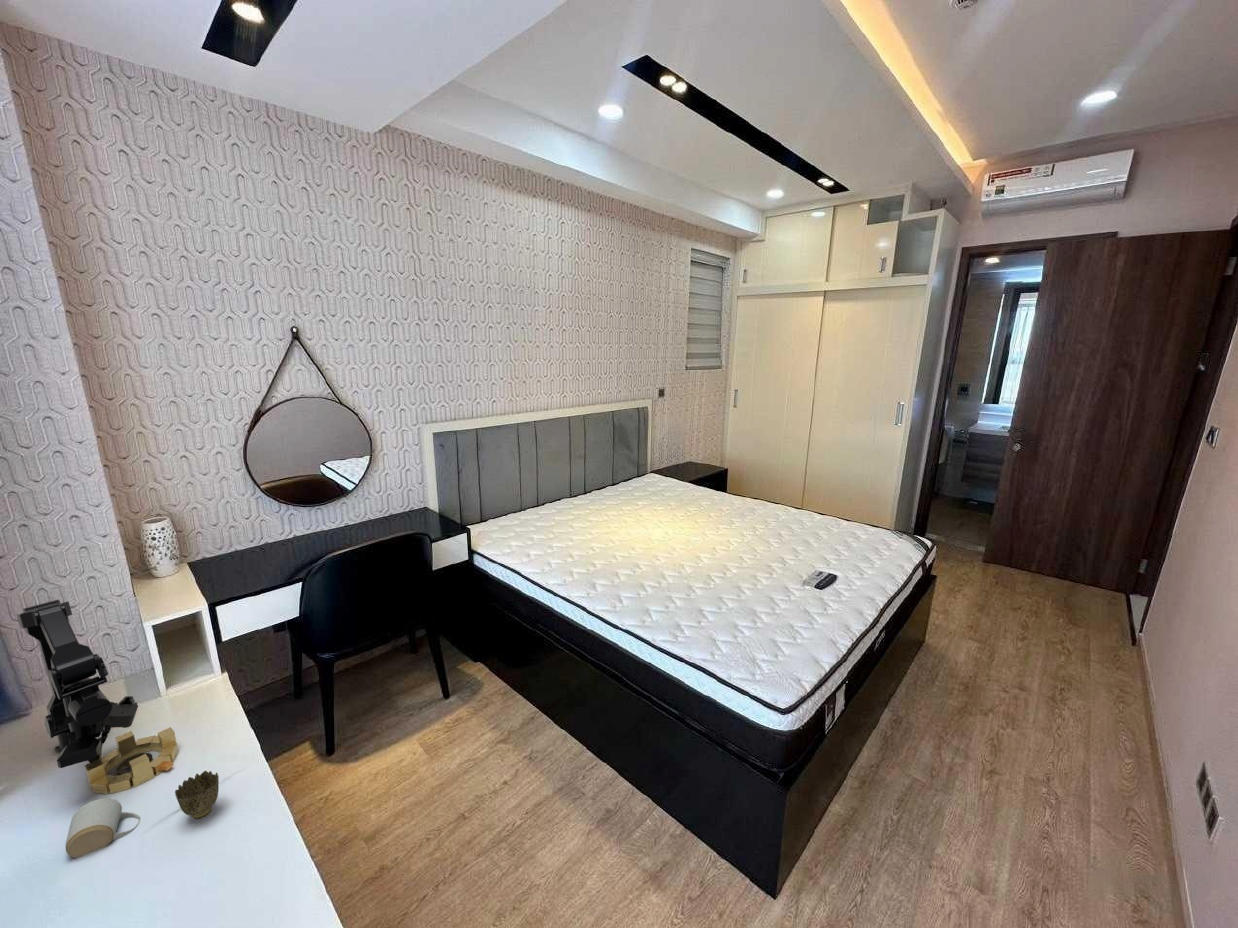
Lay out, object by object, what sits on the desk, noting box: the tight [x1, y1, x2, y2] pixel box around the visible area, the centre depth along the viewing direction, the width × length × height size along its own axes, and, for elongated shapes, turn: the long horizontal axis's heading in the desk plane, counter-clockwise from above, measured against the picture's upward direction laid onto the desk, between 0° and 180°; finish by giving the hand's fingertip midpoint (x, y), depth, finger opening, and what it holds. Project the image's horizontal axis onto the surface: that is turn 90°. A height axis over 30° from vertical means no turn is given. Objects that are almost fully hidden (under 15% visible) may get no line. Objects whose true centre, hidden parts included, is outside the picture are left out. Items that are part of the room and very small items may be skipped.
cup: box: [174, 770, 220, 820], centre depth 113 cm, size 8×7×8 cm
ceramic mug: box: [65, 798, 141, 859], centre depth 107 cm, size 11×8×8 cm
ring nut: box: [84, 726, 179, 795], centre depth 124 cm, size 16×16×5 cm
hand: (96, 763), depth 121 cm, fingers closed
